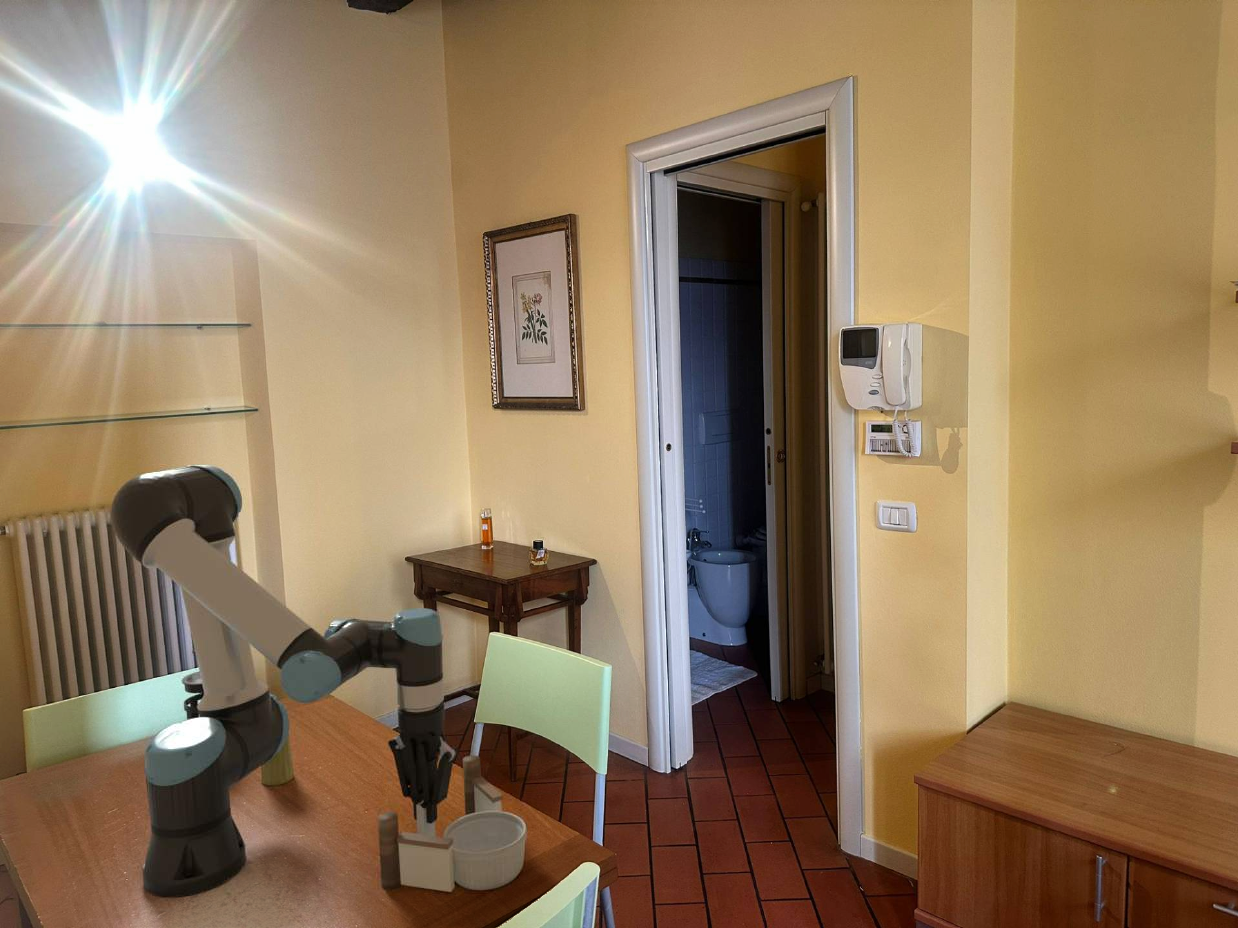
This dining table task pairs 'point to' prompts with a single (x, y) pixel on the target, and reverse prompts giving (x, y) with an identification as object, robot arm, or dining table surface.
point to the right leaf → (486, 796)
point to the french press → (193, 686)
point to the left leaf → (426, 861)
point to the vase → (278, 767)
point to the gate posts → (391, 833)
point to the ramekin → (487, 849)
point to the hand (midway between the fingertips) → (426, 838)
